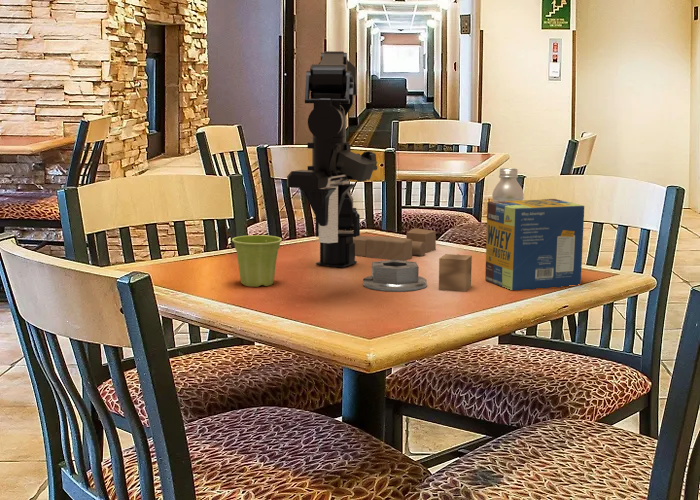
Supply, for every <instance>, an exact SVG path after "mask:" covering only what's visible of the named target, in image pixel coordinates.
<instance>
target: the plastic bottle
mask: <svg viewBox="0 0 700 500" xmlns="http://www.w3.org/2000/svg"><path fill="white" fill-rule="evenodd" d="M518 170H519V169H517V168H511V167H510V168H508V167H507V168H505V167H503V168H499V175H498V177H499V179H500V180H499V182H498V183H497V184H496V185H495V187H494V189H493V192H492V193H491V194H492V195H491V196H492V202H499V201H521V200H525V199H524V198H525V197H524V196H525V193H524V189H523V188H522V187H521V184H520V183H519V182H518V180H517V179H519V175H518Z"/></svg>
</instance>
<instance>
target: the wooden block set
mask: <svg viewBox="0 0 700 500" xmlns="http://www.w3.org/2000/svg"><path fill="white" fill-rule="evenodd" d="M405 233H406V238H403V237H393V236H381V235H375V236H372V235H371V236H370V235H362V234H360V236H356V237H353V243H355V257H362V258H363V257H364V258H368V259H380V260H401V261H408V260H410V259H412V258H413V256H414V257H415V256H416V257H424V256H425V254H428V253H431V252H434V251H436V248H437V247H436V244H437V243H436V241H437V238H436V235H437V231H436V230H432V229H431V230H429V229H423V228H416V227H414V228H412V229H410V230H408V231H407V232H405Z"/></svg>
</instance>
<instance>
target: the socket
mask: <svg viewBox="0 0 700 500" xmlns="http://www.w3.org/2000/svg"><path fill="white" fill-rule="evenodd" d="M419 273H420V272H419V264H418V263H417V261H410V260H409V261H408V260H405V261H401V260H387V259H385V260H380V261H378V260H377V261H372V262H371V275H368V276H366V277H363V279H362V286H363V287H364V288H366V289H369V290H373V291H378V292H379V291H380V292H393V293H394V292H395V293H396V292H398V293H401V292H404V293H405V292H413V291H419V290H422V289H423V290H424V289H425V288H427V284H428V280H427V278H425V277H422V276H419Z"/></svg>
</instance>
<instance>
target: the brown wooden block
mask: <svg viewBox="0 0 700 500" xmlns="http://www.w3.org/2000/svg"><path fill="white" fill-rule="evenodd" d="M438 259H439V261H438V263H439V264H438V291H444V292H445V291H446V292H461V293H466V292H468V290H470V288H471V287H472V270H473V269H472V267H473V266H472V264H473V263H472V262H473V261H472V260H473V255H465V254H454V253H452V254H451V253H450V254H448V253H445V254H444V255H442V256H441V257H439V258H438Z"/></svg>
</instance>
